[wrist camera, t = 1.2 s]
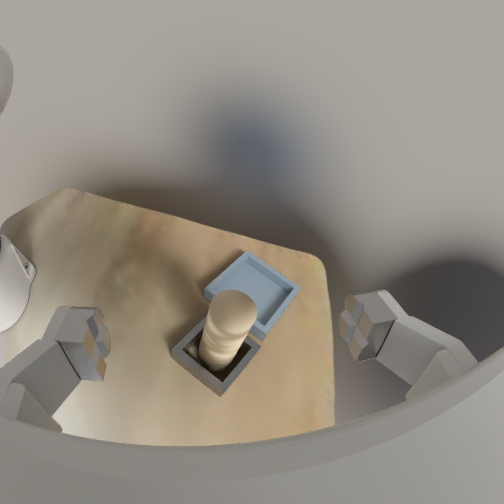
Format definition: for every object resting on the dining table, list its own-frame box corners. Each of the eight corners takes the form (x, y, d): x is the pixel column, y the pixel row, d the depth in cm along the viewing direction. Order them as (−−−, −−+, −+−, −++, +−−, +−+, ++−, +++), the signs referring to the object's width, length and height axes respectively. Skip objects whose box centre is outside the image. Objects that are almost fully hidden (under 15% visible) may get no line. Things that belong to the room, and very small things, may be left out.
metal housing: (171, 357, 36) (171, 349, 34) (209, 318, 42) (212, 309, 40) (220, 397, 34) (224, 392, 32) (255, 353, 40) (261, 346, 38)
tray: (203, 296, 45) (204, 287, 43) (244, 258, 53) (247, 250, 51) (261, 340, 42) (266, 334, 40) (296, 295, 50) (301, 287, 48)
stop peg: (190, 357, 37) (199, 309, 27) (211, 335, 40) (229, 281, 30) (217, 378, 36) (239, 339, 26) (237, 355, 39) (265, 308, 29)
